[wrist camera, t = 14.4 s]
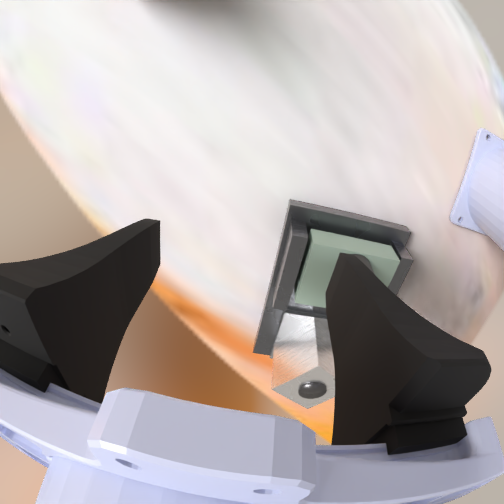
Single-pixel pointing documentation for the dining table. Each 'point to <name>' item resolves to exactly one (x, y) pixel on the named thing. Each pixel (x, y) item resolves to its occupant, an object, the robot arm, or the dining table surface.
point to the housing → (304, 365)
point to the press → (290, 257)
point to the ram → (324, 260)
